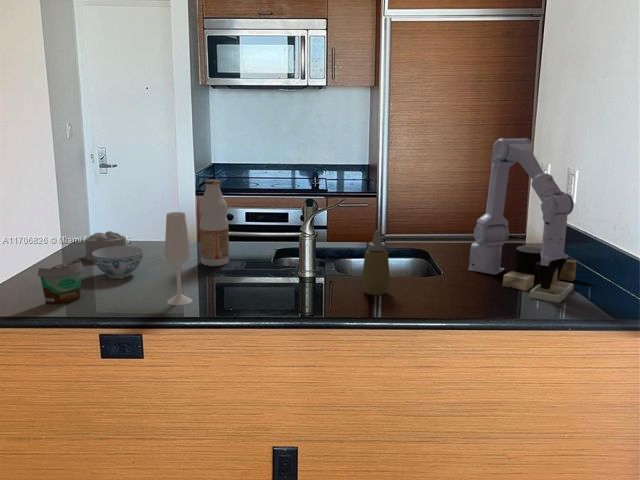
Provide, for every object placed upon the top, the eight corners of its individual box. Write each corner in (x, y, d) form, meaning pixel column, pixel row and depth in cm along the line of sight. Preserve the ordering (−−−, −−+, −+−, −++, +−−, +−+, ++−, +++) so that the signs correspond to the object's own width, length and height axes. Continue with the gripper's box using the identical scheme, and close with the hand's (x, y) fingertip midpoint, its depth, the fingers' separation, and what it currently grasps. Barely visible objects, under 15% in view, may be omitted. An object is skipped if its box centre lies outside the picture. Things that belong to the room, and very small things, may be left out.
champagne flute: (171, 297, 161) (166, 211, 156) (195, 297, 161) (191, 211, 156) (163, 304, 155) (159, 215, 150) (189, 305, 155) (185, 216, 149)
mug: (547, 286, 175) (551, 253, 172) (517, 285, 175) (520, 252, 173) (537, 275, 186) (540, 244, 184) (508, 274, 187) (510, 243, 185)
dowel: (540, 295, 164) (542, 268, 162) (543, 292, 167) (546, 265, 165) (553, 298, 162) (556, 270, 160) (556, 294, 164) (559, 267, 163)
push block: (502, 286, 174) (503, 275, 174) (510, 282, 179) (511, 271, 178) (525, 291, 170) (526, 279, 169) (533, 286, 175) (534, 275, 174)
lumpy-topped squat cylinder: (95, 253, 209) (93, 230, 207) (131, 254, 208) (130, 230, 207) (83, 261, 199) (81, 236, 197) (121, 261, 198) (119, 236, 196)
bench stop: (516, 272, 189) (518, 254, 188) (519, 270, 192) (521, 252, 190) (572, 281, 179) (574, 262, 178) (574, 279, 182) (576, 260, 181)
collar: (545, 289, 171) (545, 285, 170) (551, 285, 176) (551, 280, 175) (567, 293, 167) (568, 288, 167) (573, 288, 172) (573, 283, 172)
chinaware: (105, 285, 171) (103, 260, 170) (86, 274, 182) (84, 250, 181) (153, 276, 181) (151, 252, 179) (132, 266, 192) (131, 243, 190)
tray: (529, 297, 163) (529, 290, 163) (537, 290, 170) (538, 284, 169) (559, 303, 159) (559, 296, 158) (566, 296, 165) (567, 289, 165)
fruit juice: (201, 267, 192) (198, 182, 186) (200, 260, 201) (197, 178, 195) (230, 265, 194) (228, 181, 188) (228, 258, 203) (226, 178, 197)
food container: (54, 309, 151) (51, 271, 149) (40, 304, 154) (36, 268, 152) (95, 296, 161) (92, 261, 159) (81, 292, 164) (78, 258, 162)
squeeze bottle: (392, 290, 169) (394, 229, 165) (386, 298, 162) (388, 234, 158) (365, 287, 172) (366, 227, 168) (357, 295, 164) (359, 232, 160)
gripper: (562, 244, 153) (557, 294, 155) (575, 235, 164) (570, 282, 167) (534, 240, 157) (530, 289, 160) (549, 232, 168) (545, 277, 171)
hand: (549, 285), depth 163 cm, fingers open, 7 cm apart
